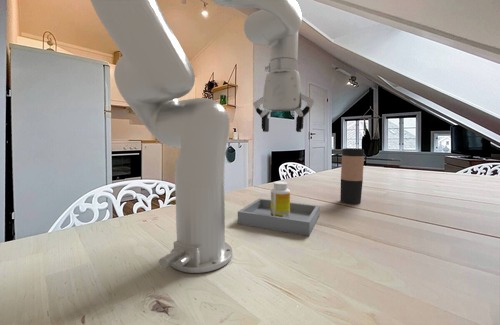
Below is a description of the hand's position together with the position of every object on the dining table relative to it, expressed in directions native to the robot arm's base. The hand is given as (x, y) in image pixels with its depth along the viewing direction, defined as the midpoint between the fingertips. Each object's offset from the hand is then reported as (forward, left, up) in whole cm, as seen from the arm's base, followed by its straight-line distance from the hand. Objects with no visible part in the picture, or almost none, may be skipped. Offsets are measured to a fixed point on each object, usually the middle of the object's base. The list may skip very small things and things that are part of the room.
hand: (281, 131), depth 69 cm
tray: (0, 0, -26) cm, 26 cm away
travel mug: (+31, -18, -26) cm, 44 cm away
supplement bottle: (0, 0, -25) cm, 25 cm away
